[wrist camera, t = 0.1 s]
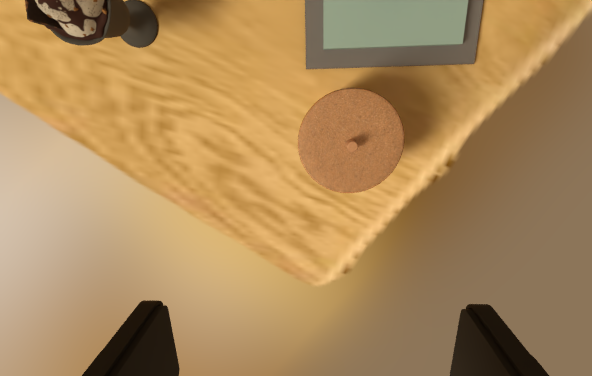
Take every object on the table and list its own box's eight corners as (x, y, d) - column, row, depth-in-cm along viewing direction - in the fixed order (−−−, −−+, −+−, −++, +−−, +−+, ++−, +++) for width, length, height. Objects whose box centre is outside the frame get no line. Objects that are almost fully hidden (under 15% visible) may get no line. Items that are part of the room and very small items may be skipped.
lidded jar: (403, 111, 37) (432, 120, 29) (360, 186, 41) (373, 215, 32) (324, 71, 36) (328, 67, 28) (286, 151, 40) (279, 171, 31)
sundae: (168, -1, 35) (69, -59, 21) (161, 61, 37) (67, 47, 23) (110, -17, 35) (-31, -87, 20) (107, 46, 37) (-23, 23, 23)
